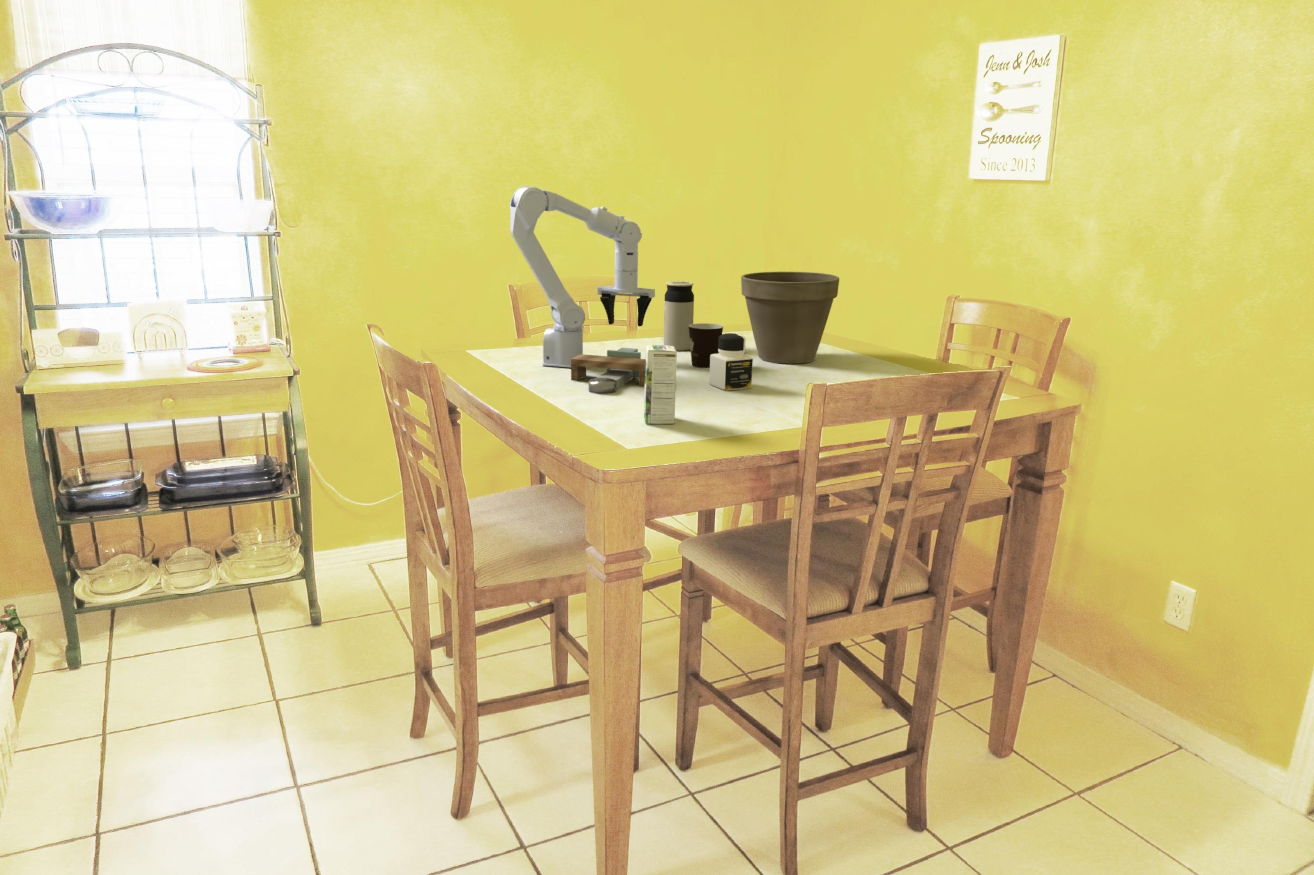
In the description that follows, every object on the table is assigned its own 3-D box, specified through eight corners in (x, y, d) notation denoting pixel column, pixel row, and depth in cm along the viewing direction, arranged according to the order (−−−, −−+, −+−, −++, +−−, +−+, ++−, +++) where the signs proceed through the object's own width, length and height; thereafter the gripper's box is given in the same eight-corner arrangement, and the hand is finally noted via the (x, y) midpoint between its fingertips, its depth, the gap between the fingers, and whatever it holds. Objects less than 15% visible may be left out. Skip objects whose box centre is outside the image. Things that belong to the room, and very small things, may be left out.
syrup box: (643, 416, 181) (644, 344, 177) (672, 416, 181) (674, 344, 177) (645, 424, 175) (646, 350, 171) (675, 424, 176) (677, 350, 172)
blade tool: (589, 386, 205) (589, 360, 204) (613, 371, 221) (613, 347, 219) (623, 389, 203) (623, 363, 202) (645, 374, 219) (645, 349, 217)
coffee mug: (719, 370, 225) (720, 329, 222) (684, 368, 226) (685, 328, 223) (725, 361, 236) (726, 322, 233) (692, 359, 237) (693, 320, 234)
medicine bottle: (725, 391, 203) (727, 338, 200) (708, 384, 209) (710, 332, 206) (751, 388, 206) (754, 335, 203) (735, 381, 212) (737, 330, 209)
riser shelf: (571, 380, 211) (570, 359, 209) (580, 375, 216) (580, 354, 215) (645, 386, 206) (645, 364, 205) (653, 381, 212) (653, 359, 210)
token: (584, 393, 200) (584, 382, 199) (595, 387, 205) (595, 376, 204) (609, 396, 198) (609, 385, 197) (620, 390, 203) (620, 379, 202)
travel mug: (697, 348, 252) (699, 282, 247) (682, 352, 245) (684, 285, 240) (673, 344, 256) (674, 280, 251) (658, 349, 250) (659, 282, 244)
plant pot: (725, 362, 234) (728, 277, 227) (752, 346, 256) (756, 268, 249) (822, 372, 225) (828, 283, 219) (841, 354, 247) (847, 273, 240)
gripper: (658, 270, 228) (657, 324, 232) (603, 267, 232) (603, 320, 235) (650, 272, 221) (649, 328, 225) (594, 270, 225) (594, 324, 229)
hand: (625, 324), depth 230 cm, fingers open, 7 cm apart
